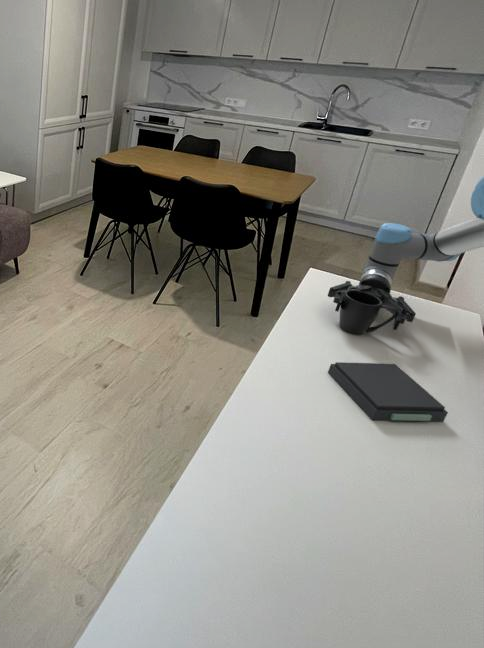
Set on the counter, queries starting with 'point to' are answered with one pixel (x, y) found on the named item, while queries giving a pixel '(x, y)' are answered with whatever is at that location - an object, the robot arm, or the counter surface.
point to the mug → (361, 312)
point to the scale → (386, 392)
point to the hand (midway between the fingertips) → (366, 315)
